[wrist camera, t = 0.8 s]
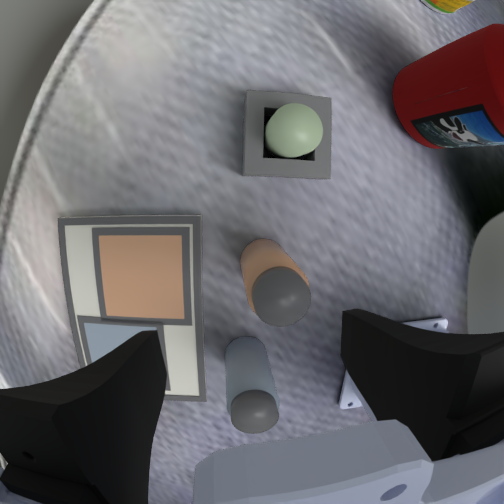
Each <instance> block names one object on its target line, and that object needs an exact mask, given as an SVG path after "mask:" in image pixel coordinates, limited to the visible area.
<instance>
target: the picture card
mask: <svg viewBox="0 0 504 504" xmlns="http://www.w3.org/2000/svg"><path fill="white" fill-rule="evenodd" d="M58 232H59V245H60V256H61V265H62V273H63V281H64V288H65V295H66V301H67V307H68V313H69V318H70V323H71V328H72V333H73V338H74V342H75V347H76V351H77V355H78V359H79V363H80V367H81V368H83V367H85V366H87V365H89V364H91V363H93V362H94V361H96V360H98V359H99V358H101V357H103V356H104V355H106V354H107V353H109V352H111V351H112V350H114V349H115V348H116V347H118V346H119V345H121V344H122V343H124V342H125V341H127V340H128V339H129V338H131V337H132V336H134V335H135V334H137V333H139V332H141V331H147V330H157V332H158V336H159V341H160V345H161V350H162V354H163V358H164V363H165V367H166V371H167V381H166V390H165V396H164V400H173V401H200V402H207V392H206V375H205V355H204V332H203V301H202V215H121V216H82V217H61V218H58Z"/></svg>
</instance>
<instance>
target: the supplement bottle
mask: <svg viewBox="0 0 504 504" xmlns="http://www.w3.org/2000/svg"><path fill="white" fill-rule="evenodd" d="M421 1H422V2H423V3H424V4H425V5H426V6H427V7H429V8H430V9H432V10H434V11H435V12H438V13H440V14H445V15H447V14H451V13H453V12H455V11H457V10H459V9H461V8H462V7H464V6H466V5H468V4H469V3H471V2H473V1H475V0H421Z"/></svg>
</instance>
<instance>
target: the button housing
mask: <svg viewBox="0 0 504 504" xmlns="http://www.w3.org/2000/svg"><path fill="white" fill-rule="evenodd" d="M290 103H299V104H303V105H306V106H308V107H310V108H311V109H313V110H314V111H315V112H316V113H317V115H318V116H319V118H320V120H321V122H322V126H323V136H322V139H321V142H320V143H319V145H318V146H317V147H316V148H315V149H314V150H313V151H311V152H309V153H307V154H305V160H293V159H276V158H263V137H264V115H268V116H273V115H274V113H275V112H276V111H277V110H278V109H279V108H280V107H282V106H284V105H286V104H290ZM331 125H332V111H331V98H328V97H320V96H312V95H304V94H294V93H283V92H271V91H255V90H247V92H246V96H245V101H244V132H243V166H242V176H265V177H288V178H306V179H330V175H331Z"/></svg>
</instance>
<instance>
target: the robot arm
mask: <svg viewBox="0 0 504 504" xmlns="http://www.w3.org/2000/svg"><path fill="white" fill-rule="evenodd" d="M435 323H436V324H435ZM434 324H435V325H434ZM447 324H448V320H447V319H446V318H436V319H429V320H421V321H413V322H404V323H400V322H397V321H394V320H391V319H388V318H385V317H382V316H379V315H376V314H374V313H371V312H368V311H364V310H361V309H352V310H346V311H343V313H342V337H341V354H340V355H341V358H342V360H343V363H344V365H345V367H346V372H345V377H344V382H343V386H342V391H341V395H340V400H339V407H340V408H341V409H348V408H354V407H360V406H363V407H364V409H365V410H366V412H367V414H368V415H369V417H370V419H371V420H372V422H367V423H363V424H359V425H355V426H351V427H347V428H343V429H339V430H334V431H330V432H325V433H320V434H315V435H309V436H304V437H298V438H292V439H285V440H278V441H271V442H263V443H254V444H244V445H240V446H236V447H232V448H228V449H223V450H219V451H215V452H213V453H212V454H210V455H209V456H208V457H206V458H205V459H204V460H202V461H201V462H200V463H198V464H197V465H196V468H195V476H194V487H193V504H504V332H499V333H492V334H453V333H450V332H448V331H447V330H446V328H447ZM166 381H167V371H166V367H165V363H164V358H163V354H162V350H161V345H160V341H159V336H158V332H157V330H147V331H141V332H139V333H137V334H135V335H134V336H132V337H131V338H129V339H128V340H127V341H125V342H124V343H122V344H121V345H119V346H118V347H116V348H115V349H114V350H112V351H111V352H109V353H107V354H106V355H104V356H103V357H101V358H99V359H98V360H96V361H94V362H93V363H91V364H89V365H87V366H85V367H83V368H81V369H79V370H77V371H75V372H72V373H70V374H67V375H64V376H61V377H59V378H56V379H53V380H50V381H46V382H43V383H39V384H34V385H29V386H24V387H16V388H8V389H0V453H1V454H2V456H3V457H4V458H5V460H6V461H7V462H8V465H7V466H6V468H5V470H4V469H3V468H2V467H0V504H148V483H149V468H150V458H151V449H152V442H153V437H154V433H155V430H156V426H157V422H158V418H159V415H160V411H161V407H162V404H163V400H164V396H165V390H166ZM350 402H351V403H350ZM349 403H350V404H349Z"/></svg>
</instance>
